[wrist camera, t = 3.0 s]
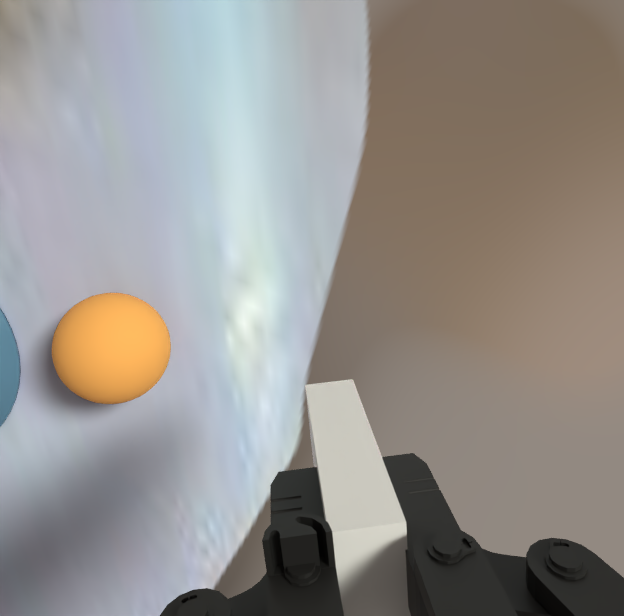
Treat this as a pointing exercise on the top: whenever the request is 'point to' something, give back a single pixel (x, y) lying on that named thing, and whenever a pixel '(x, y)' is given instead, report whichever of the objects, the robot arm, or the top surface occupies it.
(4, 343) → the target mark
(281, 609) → the robot arm
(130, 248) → the top surface
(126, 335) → the ball
